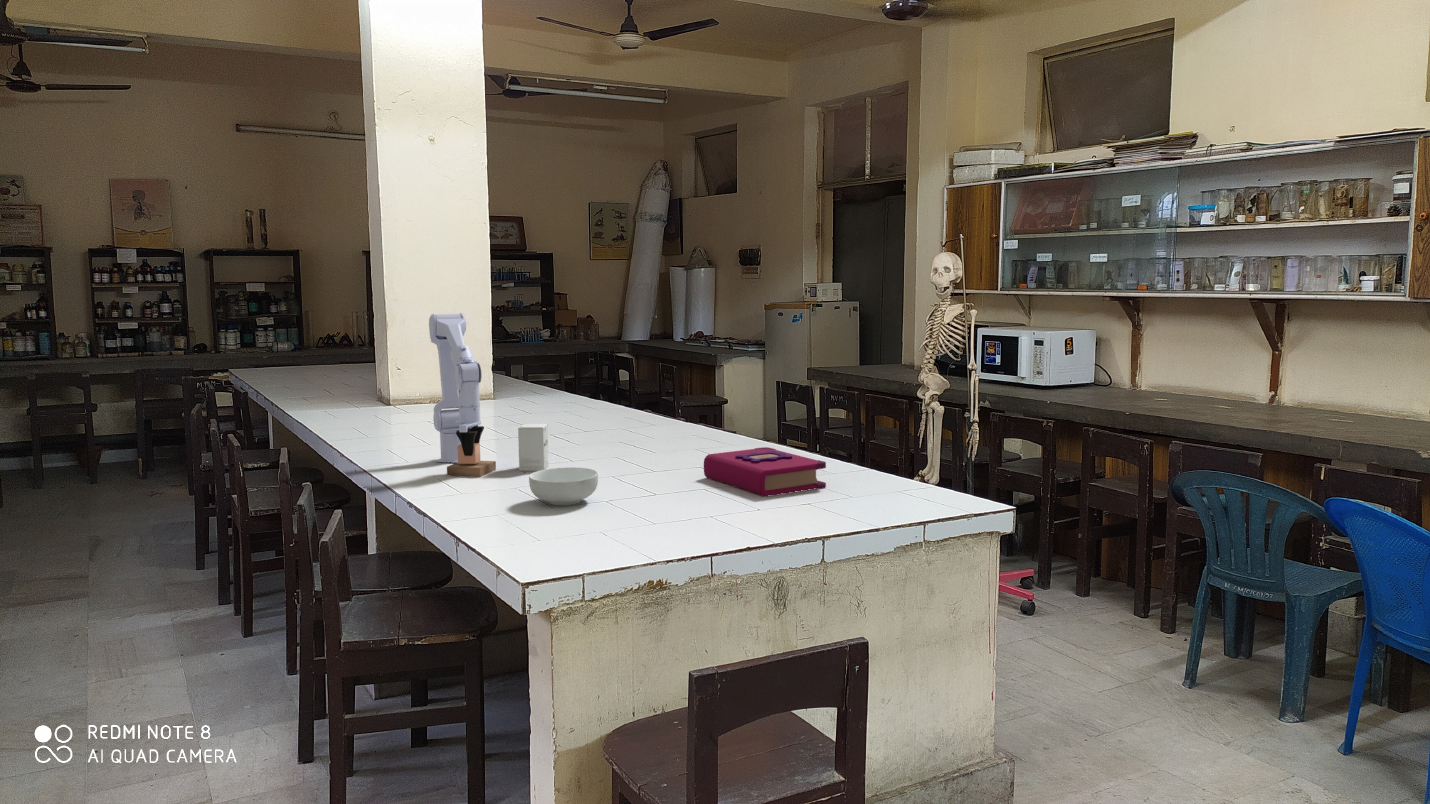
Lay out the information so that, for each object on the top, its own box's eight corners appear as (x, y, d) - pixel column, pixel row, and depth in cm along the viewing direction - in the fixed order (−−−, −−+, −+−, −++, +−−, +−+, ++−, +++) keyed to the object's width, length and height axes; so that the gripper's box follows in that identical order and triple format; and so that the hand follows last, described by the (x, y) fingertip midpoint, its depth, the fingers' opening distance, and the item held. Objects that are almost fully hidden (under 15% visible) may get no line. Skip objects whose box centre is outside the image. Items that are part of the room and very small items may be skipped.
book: (761, 499, 243) (761, 469, 242) (703, 479, 267) (703, 452, 266) (828, 489, 254) (828, 460, 253) (766, 471, 278) (766, 444, 277)
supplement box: (544, 471, 278) (543, 427, 276) (518, 471, 278) (517, 427, 276) (549, 466, 285) (548, 423, 284) (524, 466, 285) (522, 423, 284)
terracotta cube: (463, 460, 278) (462, 443, 278) (480, 460, 278) (479, 443, 278) (457, 463, 273) (457, 446, 273) (475, 463, 273) (475, 446, 273)
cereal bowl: (524, 497, 245) (523, 469, 244) (589, 492, 250) (588, 465, 250) (536, 512, 229) (535, 483, 228) (606, 506, 235) (605, 477, 234)
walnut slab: (463, 470, 282) (463, 460, 282) (496, 471, 280) (495, 461, 280) (447, 477, 272) (446, 466, 272) (480, 478, 270) (480, 467, 270)
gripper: (462, 402, 281) (464, 449, 283) (447, 409, 267) (449, 458, 268) (486, 402, 281) (488, 449, 283) (473, 409, 267) (475, 458, 268)
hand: (471, 453), depth 276 cm, fingers closed on terracotta cube, 5 cm apart
